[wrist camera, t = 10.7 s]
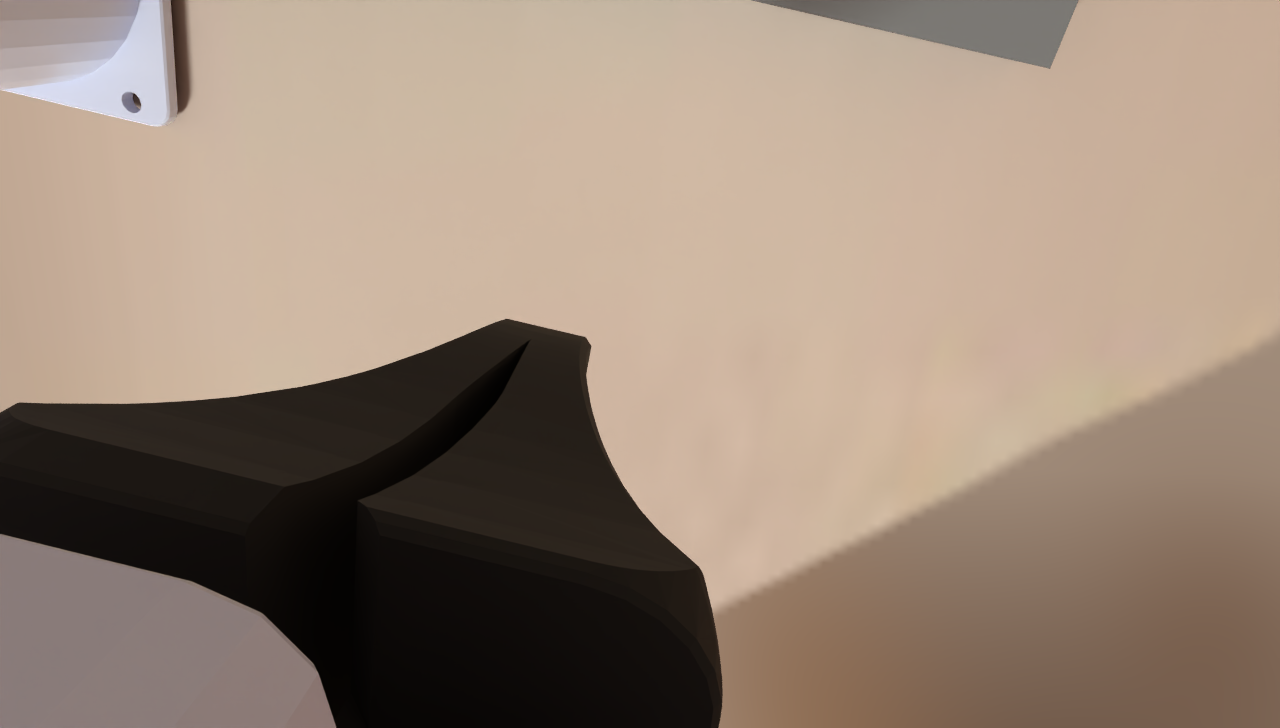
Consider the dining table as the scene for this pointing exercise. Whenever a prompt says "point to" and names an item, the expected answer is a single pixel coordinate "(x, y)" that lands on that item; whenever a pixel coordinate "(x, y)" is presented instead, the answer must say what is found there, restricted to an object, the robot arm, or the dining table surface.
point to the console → (959, 22)
